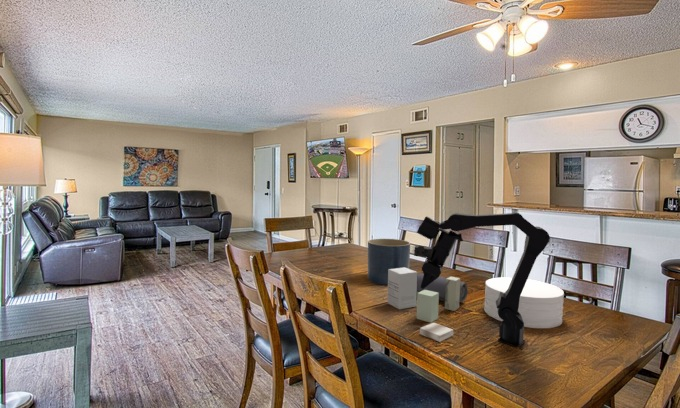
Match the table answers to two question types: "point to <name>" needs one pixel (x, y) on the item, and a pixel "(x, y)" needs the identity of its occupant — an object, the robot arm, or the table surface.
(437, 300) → the green block
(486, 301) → the plate stack
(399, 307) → the supplement box
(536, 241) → the robot arm
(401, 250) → the planter
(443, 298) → the bluetooth speaker
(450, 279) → the box
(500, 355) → the table surface
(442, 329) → the base block
